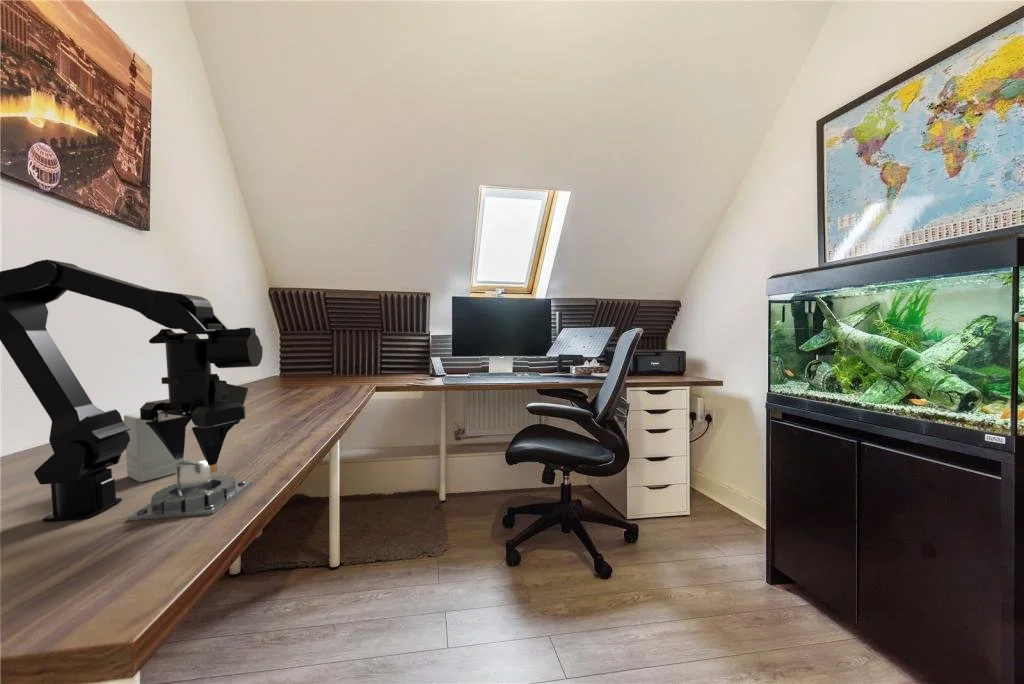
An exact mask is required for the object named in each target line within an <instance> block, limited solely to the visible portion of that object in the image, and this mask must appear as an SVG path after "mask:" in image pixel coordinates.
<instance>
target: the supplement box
mask: <svg viewBox="0 0 1024 684" xmlns="http://www.w3.org/2000/svg"><path fill="white" fill-rule="evenodd" d="M147 421H151V420H142V419H141V417H140V411H139V412H135V413H128V414H124V415H123V422H124V423H125V424H126V425H127V426H128V427H129V428H130V430H128V431H127V432H128V434H129V436H130V442H129V443H128V446H127V448H126V449H125V457H126V459H125V460H126V472H127V477H128V478H131V479H133V480H135V481H136V482H139V483H143V482H147V481H151V480H155V479H159V478H163V477H167V476H170V475H171V476H172V475H174V474H176V464H178V463H180V462H183V461H185V454H184V455H183V458H181V459H178V460H176V459H174V457H173V456H172V455H171V453H170V452H169V451H168V449H167V448H166V447H165V445H164V444H163V442H162V441H161V440H160V439H159V437H158V436H157V435H156V434H155V432H154V431H153V430H152V429H151V428H150V426H149V425H146V422H147Z"/></svg>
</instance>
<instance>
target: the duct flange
mask: <svg viewBox="0 0 1024 684" xmlns="http://www.w3.org/2000/svg"><path fill="white" fill-rule="evenodd" d="M252 485H253V480H251V481H250V480H247V481H245V480H241V481H236V478H235V477H234V476H230V475H211V487H212V490H209V491H206V492H204V493H200V494H195V495H190V496H182V497H178V491H177V483H174V484H171V485H168V486H167V487H164V488H162V489H161V488H160V490H158V491H156V492H154V493H153V494H152V495H151V500H150V503H149V504H147V505H145V506H144V507H142V508H141V509H139V510H137V511H135V512H134V513H131V514H130V515H128V516H127V518H126V519H127V521H140V520H152V519H155V520H156V519H166V518H168V519H169V518H181V517H182V518H183V517H193V516H204V515H205V516H207V515H214V514H215V513H217V512H218V511H219V510H220V509H222V508H223V507H225V506H226V505H227V504H228V503H230V502H231V501H232V500H233V499H235V498H237V496H239V495H240V494H241V493H243V492H244V491H245V490H247V489H248V488H249V487H251V486H252Z"/></svg>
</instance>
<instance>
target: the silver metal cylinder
mask: <svg viewBox="0 0 1024 684" xmlns="http://www.w3.org/2000/svg"><path fill="white" fill-rule="evenodd" d="M217 464H218V462H217V463H216V464H214V465H208V463H207V461H206V460H205V458H204V457H195V458H192V459H187V460H184V461H183V462H180V463H178V464H176V473H175V474H176V484H177V491H178V497H182V496H190V495H195V494H200V493H204V492H206V491H209V490H212V487H211V476H212V473H216V472H217V471H218V465H217Z"/></svg>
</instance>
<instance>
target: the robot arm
mask: <svg viewBox="0 0 1024 684" xmlns="http://www.w3.org/2000/svg"><path fill="white" fill-rule="evenodd" d="M67 291H69V292H72V293H76V294H78V295H83V296H84V297H85V296H87V297H89V298H93V299H97V300H101V301H104V302H106V303H109V304H114V305H115V306H116V305H117V306H120V307H124V308H126V309H131V310H133V311H135V312H138V314H141V315H142V316H143V317H144V318H146V319H147V320H150V321H152V322H154V323H157V324H159V325H161V326H163V327H165V328H161V329H160V330H159V331H158V333H156V334H154V336H152V337H151V338H150V339H149V340H148V343H149V344H152V345H153V344H164V345H165V355H166V356H165V357H166V359H165V360H166V371H167V372H166V374H167V376H164V377H161V384H162V385H167V388H168V389H167V392H168V398H167V399H166V398H165V399H159V400H153V401H146V402H145V403H144V404H143V405H142V406H141V407H140V408H139V412H140V417H141V419H142V420H151V421H147V422H146V425H149V426H150V428H151V429H152V430H153V431H154V432H155V434H156V435H157V436H158V437H159V439H160V440H161V441H162V442H163V444H164V445H165V447H166V448H167V449H168V451H169V452H170V453H171V455H172V456H173V457H174V459H176V460H178V459H181V458H183V455H184V456H185V448H186V447H185V446H186V445H185V444H186V430H187V429H186V428H187V426H188V424H189V423H190V422H191V421H192V423H193V425H194V426H192V427H191V430H192V432H193V435H194V437H195V439H196V441H197V443H198V446H199V448H200V450H201V452H202V455H203V458H205V460H206V461H207V463H208V465H214V464H216V463H217V464H218V461H219V457H220V454H221V451H222V449H223V448H222V447H223V445H224V442H225V439H226V437H227V433H228V432H229V431H230V430H231V429H232V428H233V427H234V426H236V425H239V424H240V422H241V420H245V419H246V417H247V416H246V415H247V414H246V406H245V401H246V399H247V396H248V391H249V387H246V386H239V385H235V384H230V383H228V382H227V380H222V379H220V375H218V373H212V365H211V364H213V365H214V366H215V367H216V368H218V369H235V368H254V367H258V366H260V364H261V362H262V360H263V355H264V354H263V351H264V350H263V345H262V344H261V341H260V338H259V336H258V335H257V334H256V333H257V332H256V328H255V327H238V328H230V329H229V328H228V327H227V326H226V324H224V323H223V321H221V319H220V318H219V317H218V316H217V315H216V314H215V312H214V308H213V305H212V304H211V301H210V300H208V299H207V298H205V297H203V296H199V295H192V294H186V293H185V294H184V293H179V292H173V291H172V292H171V291H164V290H157V289H151V288H150V287H149V288H148V287H145V286H141V285H139V284H136V283H132V282H129V281H125V280H122V279H118V278H115V277H112V276H109V275H105V274H102V273H98V272H96V271H92V270H88V269H85V268H82V267H79V266H77V265H76V264H74V263H69V262H64V261H58V260H53V259H42V260H38V261H35V262H32V263H30V264H27V265H24V266H21V267H15V268H10V269H6V270H2V271H0V342H1V344H2V345H3V347H4V348H5V350H6V352H7V353H8V355H9V356H10V358H11V359H12V361H13V362H14V365H15V366H16V367H17V369H18V370H19V371H20V373H21V375H22V376H23V379H24V380H25V381H26V383H27V385H28V386H29V387H30V389H31V390H32V392H33V394H34V395H35V397H36V398H37V400H38V401H39V403H40V404H41V406H42V408H43V410H44V411H45V412H46V414H47V415H48V417H49V419H50V420H51V425H50V432H49V439H48V440H49V444H50V446H51V449H52V452H53V454H52V455H51V456H49V457H48V459H46V460H45V461H44V462H43V463H41V465H40V466H39V467H38V468H37V469H36V470H35V471H33V474H34V476H35V478H36V480H37V481H38V484H39V485H41V486H42V485H50V492H51V494H50V495H51V502H52V503H51V505H52V506H51V508H52V513H51V514H48V515H45V516H44V517H42V522H52V521H64V520H65V521H66V520H75V519H76V520H77V519H87V518H91V517H93V516H95V515H97V514H98V513H101V512H102V511H104V510H107V509H108V508H111V507H112V506H115V505H116V504H119V503H120V502H122V500H123V499H122V497H117V495H116V480H115V478H114V477H113V471H112V469H113V468H110V467H111V466H114V465H117V464H119V462H120V459H121V456H122V454H123V453H124V452H126V448H127V446H128V443H129V442H130V436H129V434H128V432H127V431H128V430H130V428H129V427H128V426H127V425H126V424H125V423H124V419H123V418H122V416H121V413H120V411H118V410H117V409H111V410H107V411H104V410H103V409H101V408H99V407H97V406H96V405H95V404H94V403H93V402H92V400H91V397H89V395H88V394H87V392H86V390H85V389H84V387H83V386H82V384H81V382H80V381H79V379H78V378H77V376H76V375H75V373H74V371H73V369H71V368H72V367H71V366H70V365H69V362H67V360H66V358H65V356H63V354H62V352H61V350H60V349H59V347H58V345H56V343H55V341H54V340H53V338H52V336H51V335H50V333H49V331H48V329H47V328H46V326H47V321H48V315H49V310H48V307H47V304H49V303H52V302H54V301H57V300H58V299H60V298H61V296H63V295H64V294H65V293H66V292H67ZM173 330H182V331H184V332H175V331H173ZM199 335H207V338H200V337H199ZM108 467H109V468H108Z"/></svg>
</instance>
